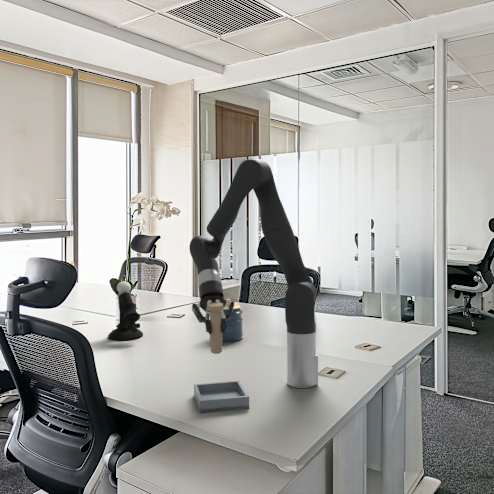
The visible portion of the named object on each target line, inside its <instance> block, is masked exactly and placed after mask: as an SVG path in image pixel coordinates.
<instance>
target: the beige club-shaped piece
mask: <svg viewBox="0 0 494 494" xmlns="http://www.w3.org/2000/svg"><path fill="white" fill-rule="evenodd" d="M207 310H208V311H210V317H209V320H210V323H211V334H209V343H210V353H211V354H213V355H219V354H222V352H223V341H222V324H221V310H223V303H209V304H207Z"/></svg>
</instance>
